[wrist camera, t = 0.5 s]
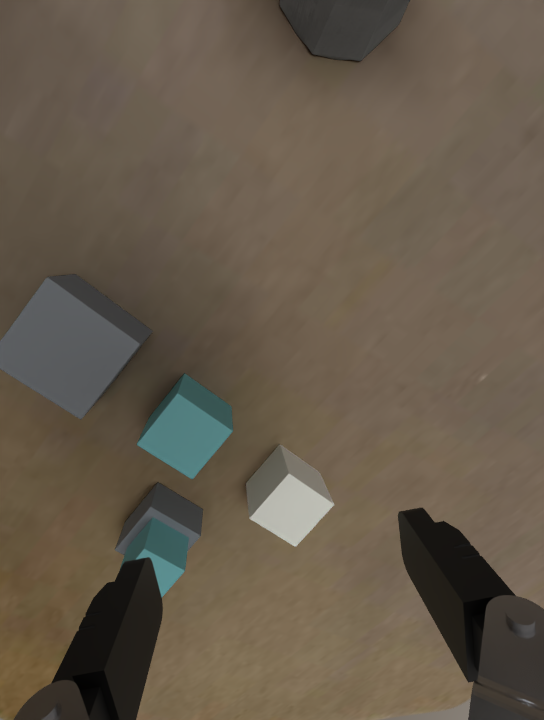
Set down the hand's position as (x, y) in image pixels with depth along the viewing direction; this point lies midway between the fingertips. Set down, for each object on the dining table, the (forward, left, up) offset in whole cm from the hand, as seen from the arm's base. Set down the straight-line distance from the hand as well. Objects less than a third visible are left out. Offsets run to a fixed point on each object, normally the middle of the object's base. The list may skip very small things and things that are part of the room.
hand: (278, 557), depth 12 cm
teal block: (+2, -5, -21) cm, 22 cm away
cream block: (+11, +1, -21) cm, 24 cm away
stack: (+11, -11, -21) cm, 26 cm away
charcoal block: (-6, -11, -21) cm, 25 cm away
